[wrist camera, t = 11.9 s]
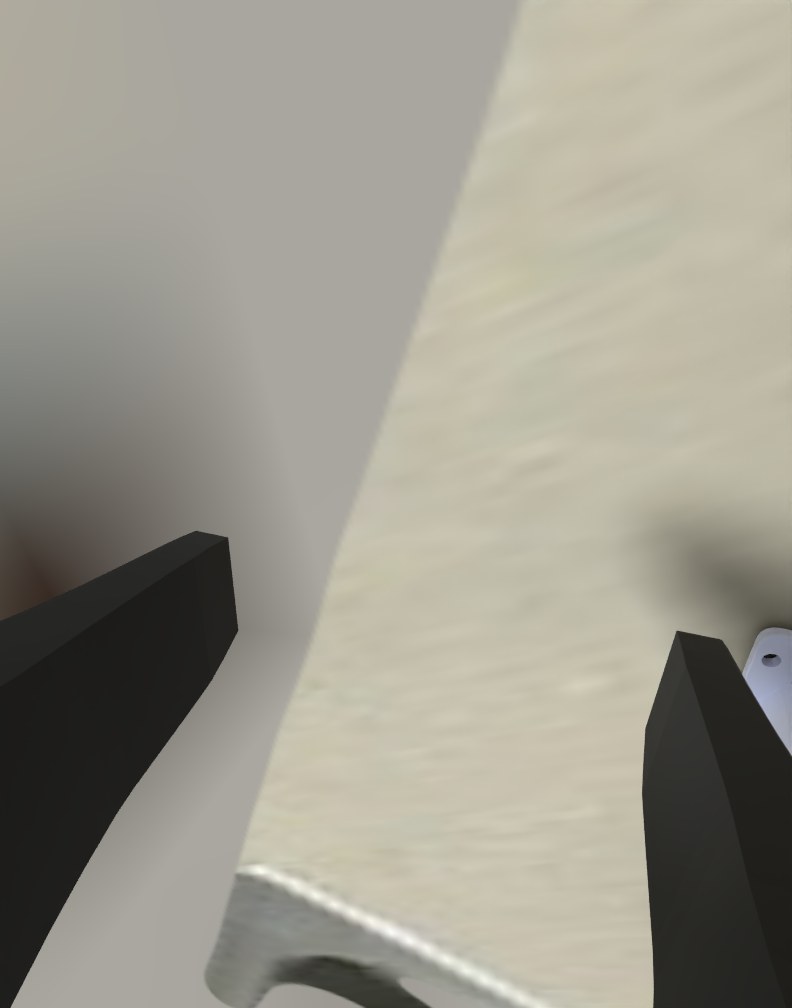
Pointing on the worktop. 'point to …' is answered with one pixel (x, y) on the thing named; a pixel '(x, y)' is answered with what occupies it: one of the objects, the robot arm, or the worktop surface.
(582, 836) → the worktop surface
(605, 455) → the worktop surface
